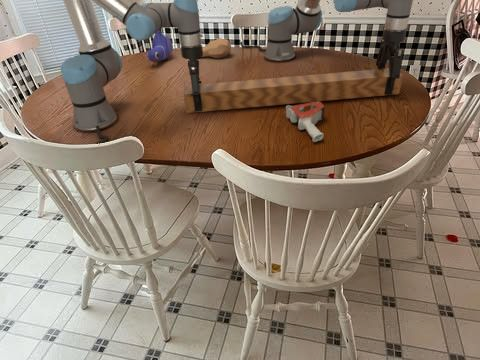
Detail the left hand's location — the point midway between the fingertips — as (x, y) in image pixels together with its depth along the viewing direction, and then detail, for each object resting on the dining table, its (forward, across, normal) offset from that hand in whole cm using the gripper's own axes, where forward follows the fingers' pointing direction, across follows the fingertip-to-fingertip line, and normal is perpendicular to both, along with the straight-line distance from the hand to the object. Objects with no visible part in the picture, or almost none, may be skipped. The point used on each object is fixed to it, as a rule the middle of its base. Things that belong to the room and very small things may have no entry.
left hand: (198, 105), depth 137 cm
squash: (+2, +65, -8) cm, 66 cm away
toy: (+2, +64, +20) cm, 67 cm away
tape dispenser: (+1, -21, -37) cm, 43 cm away
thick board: (+1, 0, -36) cm, 37 cm away
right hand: (0, 0, -73) cm, 73 cm away
